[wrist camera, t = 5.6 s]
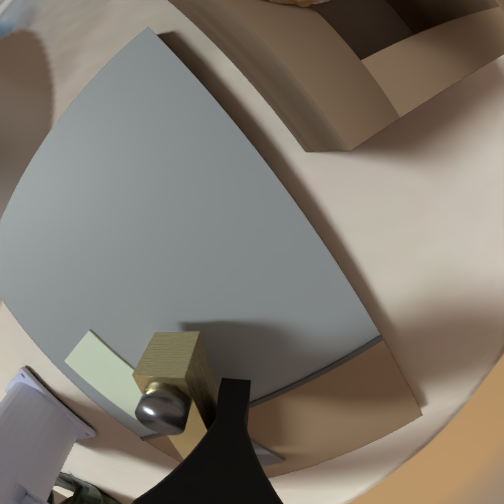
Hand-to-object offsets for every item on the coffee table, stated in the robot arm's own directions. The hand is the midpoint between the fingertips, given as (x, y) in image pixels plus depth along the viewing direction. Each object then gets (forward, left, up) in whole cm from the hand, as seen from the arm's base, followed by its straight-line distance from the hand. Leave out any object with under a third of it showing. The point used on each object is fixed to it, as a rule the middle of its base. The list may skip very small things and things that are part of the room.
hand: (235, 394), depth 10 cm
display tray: (+12, +14, -2) cm, 18 cm away
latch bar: (-2, -1, 0) cm, 2 cm away
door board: (-2, +1, -2) cm, 3 cm away
